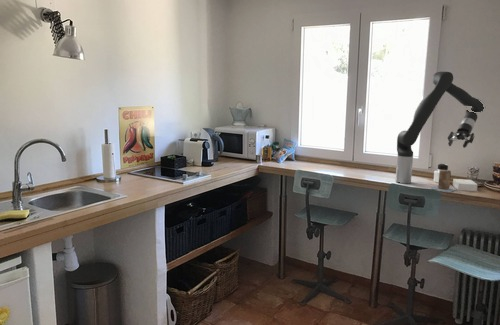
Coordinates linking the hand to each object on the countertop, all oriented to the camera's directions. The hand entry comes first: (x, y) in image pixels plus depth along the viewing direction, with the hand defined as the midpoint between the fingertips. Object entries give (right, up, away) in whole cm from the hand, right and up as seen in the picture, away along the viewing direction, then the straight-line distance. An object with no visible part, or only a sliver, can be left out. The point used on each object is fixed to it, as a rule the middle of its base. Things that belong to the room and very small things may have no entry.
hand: (456, 146), depth 245 cm
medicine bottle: (-3, -23, +13) cm, 27 cm away
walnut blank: (-11, -26, -6) cm, 29 cm away
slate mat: (-11, -26, -6) cm, 29 cm away
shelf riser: (+3, -26, -3) cm, 26 cm away
